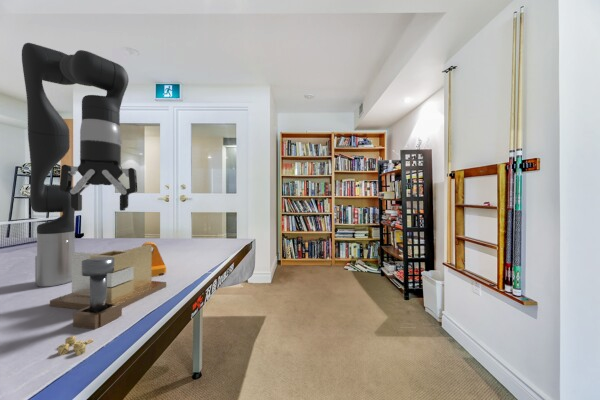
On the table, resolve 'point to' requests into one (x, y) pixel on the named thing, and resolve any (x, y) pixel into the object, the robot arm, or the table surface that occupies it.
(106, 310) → the hinge base
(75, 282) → the hinge leaf
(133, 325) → the table surface
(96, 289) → the hinge pin
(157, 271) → the bracket
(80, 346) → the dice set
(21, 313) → the table surface
